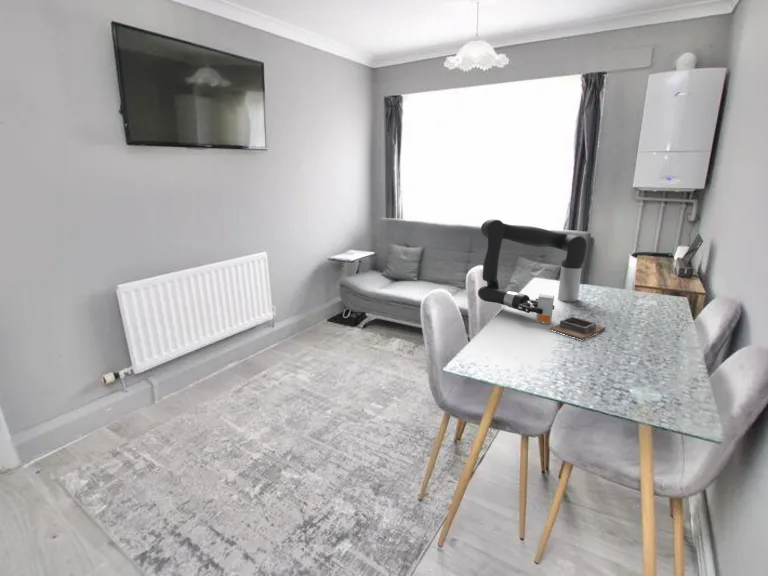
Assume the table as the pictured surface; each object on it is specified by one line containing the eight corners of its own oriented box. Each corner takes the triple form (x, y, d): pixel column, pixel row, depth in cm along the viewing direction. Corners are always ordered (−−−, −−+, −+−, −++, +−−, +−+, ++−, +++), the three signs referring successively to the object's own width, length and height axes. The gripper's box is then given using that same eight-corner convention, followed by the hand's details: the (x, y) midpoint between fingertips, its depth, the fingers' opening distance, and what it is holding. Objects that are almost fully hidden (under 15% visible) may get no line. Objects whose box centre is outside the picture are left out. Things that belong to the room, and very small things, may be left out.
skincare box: (535, 322, 172) (538, 296, 169) (537, 319, 176) (539, 293, 173) (550, 324, 170) (553, 298, 166) (551, 321, 173) (554, 295, 170)
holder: (572, 320, 174) (573, 313, 173) (605, 330, 163) (606, 322, 162) (549, 330, 163) (549, 322, 162) (582, 341, 153) (583, 332, 152)
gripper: (507, 296, 178) (539, 304, 165) (526, 290, 186) (558, 298, 173) (506, 311, 180) (537, 321, 167) (525, 305, 188) (556, 314, 175)
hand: (548, 309), depth 170 cm, fingers open, 8 cm apart
